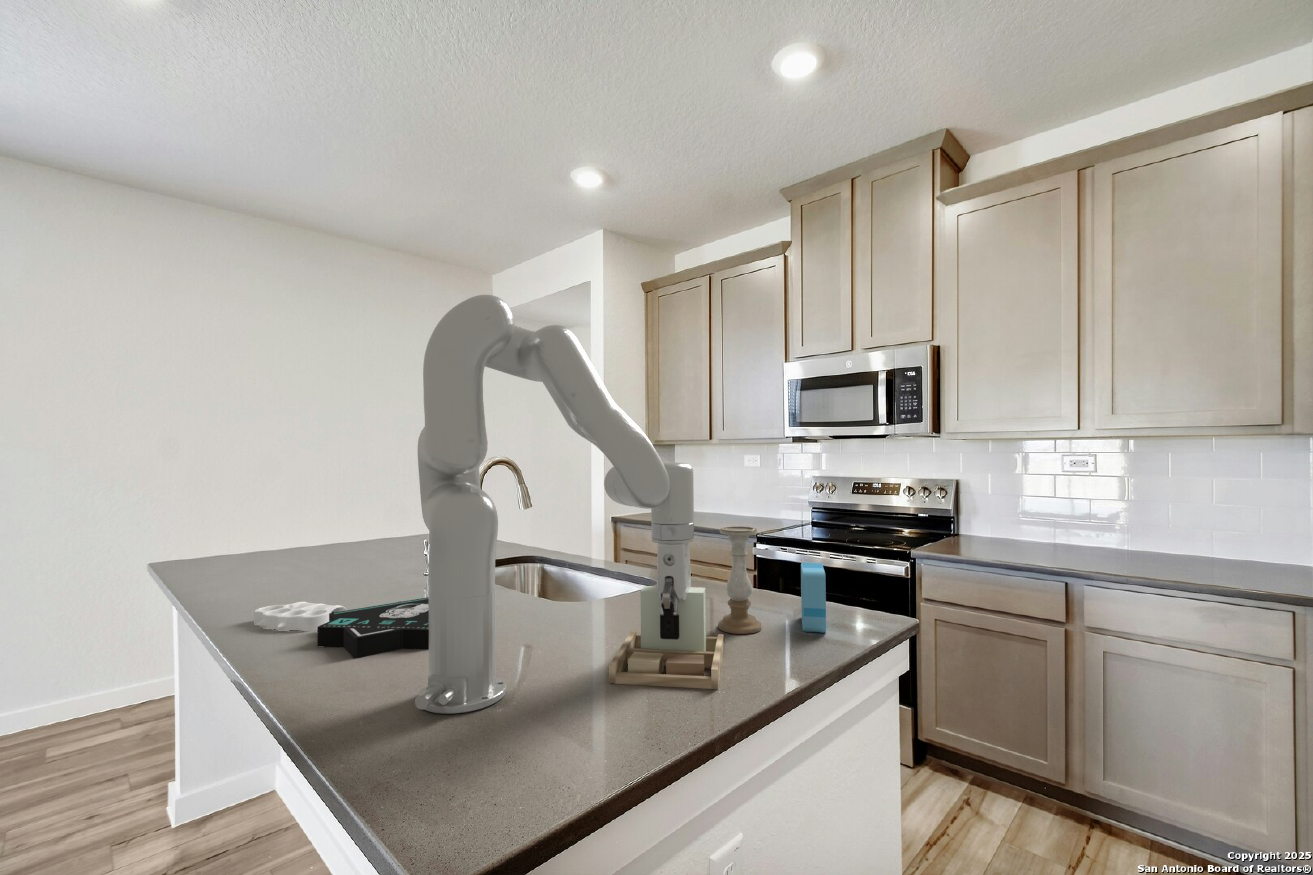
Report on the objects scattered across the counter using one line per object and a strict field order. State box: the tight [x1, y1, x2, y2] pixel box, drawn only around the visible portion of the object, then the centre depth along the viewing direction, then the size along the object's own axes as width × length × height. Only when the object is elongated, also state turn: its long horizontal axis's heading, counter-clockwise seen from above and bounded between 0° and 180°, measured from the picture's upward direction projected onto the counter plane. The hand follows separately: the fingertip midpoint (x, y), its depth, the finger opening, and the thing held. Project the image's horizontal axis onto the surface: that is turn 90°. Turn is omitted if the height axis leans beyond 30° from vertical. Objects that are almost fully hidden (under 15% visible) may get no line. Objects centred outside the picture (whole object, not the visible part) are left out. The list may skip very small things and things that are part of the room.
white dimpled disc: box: [253, 601, 348, 632], centre depth 130 cm, size 3×18×15 cm
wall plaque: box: [316, 596, 429, 659], centre depth 122 cm, size 30×4×30 cm
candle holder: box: [717, 525, 762, 635], centre depth 123 cm, size 9×9×20 cm
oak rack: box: [608, 630, 725, 690], centre depth 102 cm, size 18×17×3 cm
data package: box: [800, 562, 827, 633], centre depth 125 cm, size 12×4×12 cm, turn 167°
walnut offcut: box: [665, 654, 705, 676], centre depth 97 cm, size 4×6×3 cm, turn 85°
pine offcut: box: [627, 652, 664, 674], centre depth 99 cm, size 4×5×3 cm
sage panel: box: [640, 585, 707, 651], centre depth 106 cm, size 4×11×12 cm, turn 81°
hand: (673, 629), depth 106 cm, fingers open, 9 cm apart
